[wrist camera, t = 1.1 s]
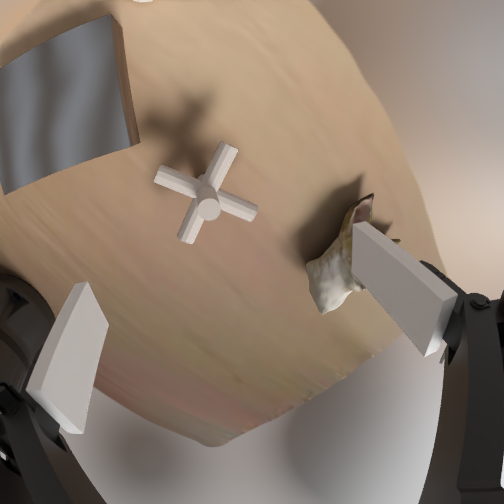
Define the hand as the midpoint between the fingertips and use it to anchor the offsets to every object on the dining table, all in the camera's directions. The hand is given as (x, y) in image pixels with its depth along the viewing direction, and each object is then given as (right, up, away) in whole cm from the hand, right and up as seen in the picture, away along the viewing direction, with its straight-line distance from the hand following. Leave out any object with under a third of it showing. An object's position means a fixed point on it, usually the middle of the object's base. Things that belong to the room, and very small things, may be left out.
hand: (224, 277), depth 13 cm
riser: (-19, +17, +10) cm, 28 cm away
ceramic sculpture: (+14, +2, +25) cm, 29 cm away
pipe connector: (-4, +9, +18) cm, 20 cm away
